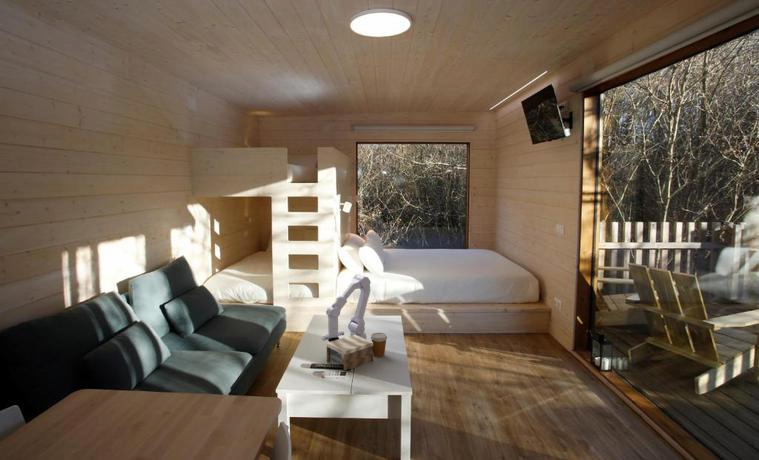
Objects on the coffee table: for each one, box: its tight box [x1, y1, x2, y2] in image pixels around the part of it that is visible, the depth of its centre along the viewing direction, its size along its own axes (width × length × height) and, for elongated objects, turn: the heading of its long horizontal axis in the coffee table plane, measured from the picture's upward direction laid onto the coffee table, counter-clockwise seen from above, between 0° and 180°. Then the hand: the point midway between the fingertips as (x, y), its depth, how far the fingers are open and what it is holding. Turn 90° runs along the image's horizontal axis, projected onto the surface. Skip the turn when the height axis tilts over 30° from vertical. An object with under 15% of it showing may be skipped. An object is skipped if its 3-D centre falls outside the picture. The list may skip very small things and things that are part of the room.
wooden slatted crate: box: [326, 334, 374, 371], centre depth 250 cm, size 20×16×11 cm
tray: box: [330, 348, 344, 365], centre depth 254 cm, size 11×18×6 cm, turn 42°
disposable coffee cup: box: [370, 332, 388, 358], centre depth 259 cm, size 10×10×12 cm
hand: (333, 349), depth 262 cm, fingers closed, pressing on tray
